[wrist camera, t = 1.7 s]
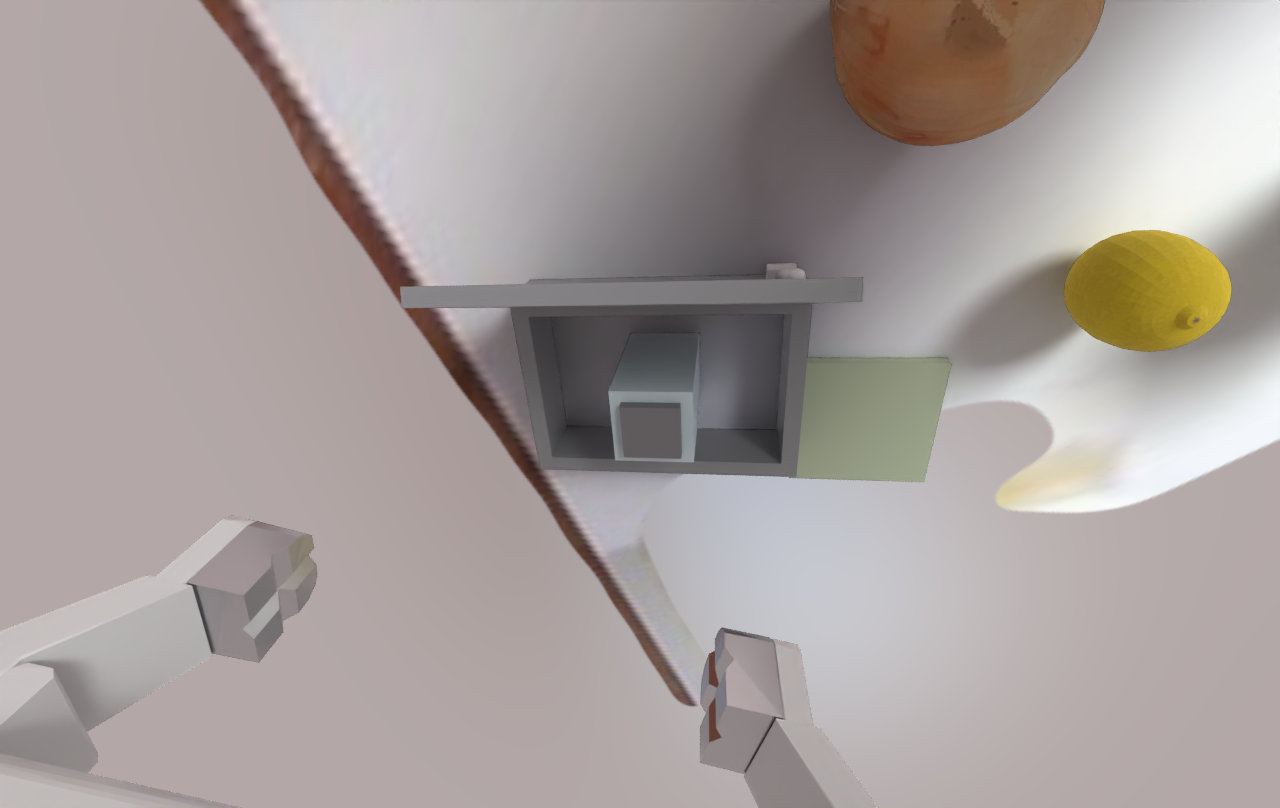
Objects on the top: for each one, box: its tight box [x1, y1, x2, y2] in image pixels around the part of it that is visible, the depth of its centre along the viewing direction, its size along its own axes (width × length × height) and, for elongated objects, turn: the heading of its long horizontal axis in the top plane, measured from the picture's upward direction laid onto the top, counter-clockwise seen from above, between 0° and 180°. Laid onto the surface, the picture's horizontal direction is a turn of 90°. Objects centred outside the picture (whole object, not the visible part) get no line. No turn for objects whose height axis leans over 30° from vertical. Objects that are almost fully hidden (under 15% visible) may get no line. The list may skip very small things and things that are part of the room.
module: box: [608, 333, 700, 462], centre depth 34 cm, size 4×4×9 cm
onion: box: [830, 0, 1105, 146], centre depth 22 cm, size 10×10×10 cm
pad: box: [789, 358, 952, 482], centre depth 37 cm, size 9×9×1 cm
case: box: [400, 263, 863, 477], centre depth 30 cm, size 17×16×14 cm
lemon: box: [1064, 230, 1232, 352], centre depth 28 cm, size 6×6×8 cm
